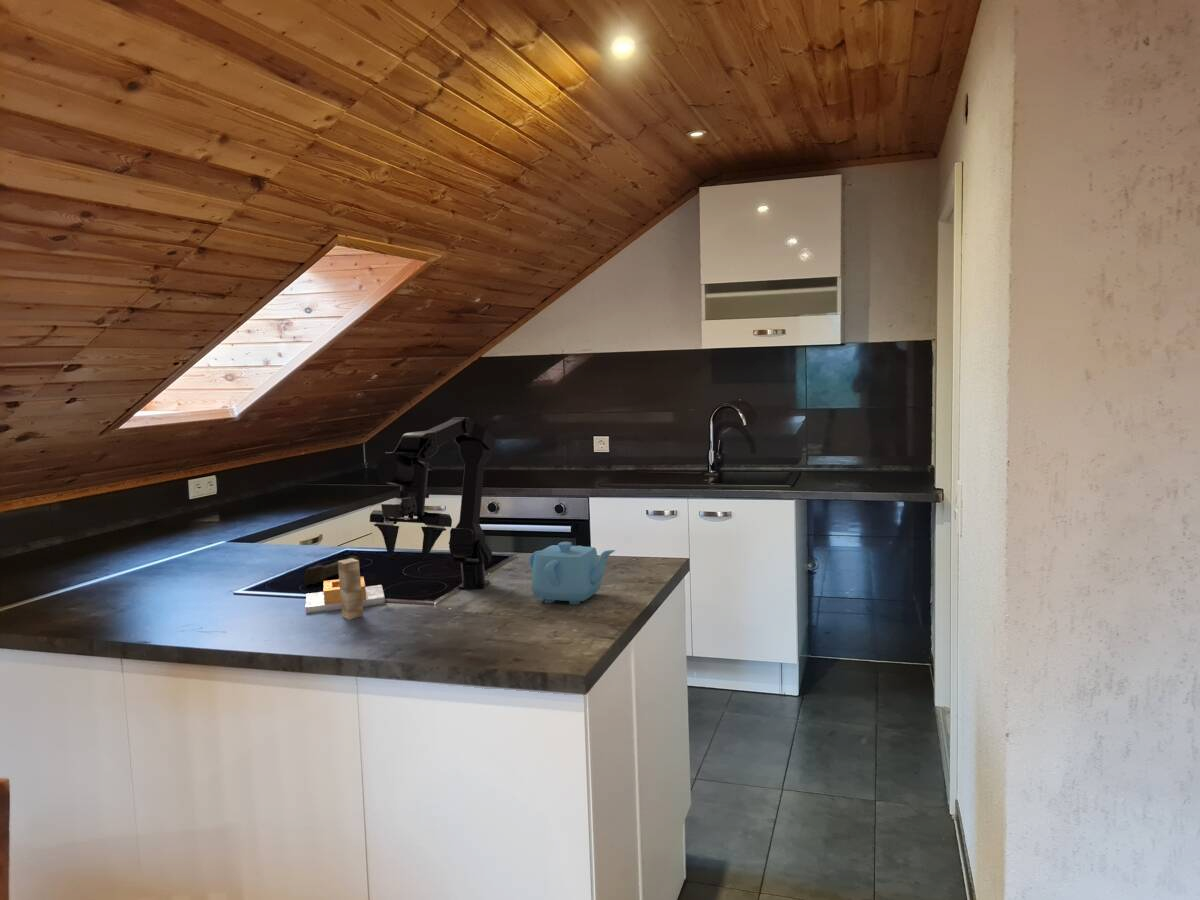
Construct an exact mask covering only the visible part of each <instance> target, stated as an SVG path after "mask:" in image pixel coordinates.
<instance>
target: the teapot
mask: <svg viewBox="0 0 1200 900" xmlns="http://www.w3.org/2000/svg"><path fill="white" fill-rule="evenodd" d="M572 544H573V543H572V542H571V541H562V542H559V543H557V544H556V545H555V544H554V545H549V546H548V547H547V546H546V547H545V548H544V549H542V550H537V551H536V550H535V551H534V552H533V553H532V554H530V556H529V560H528V561H529V566H530V568H531V569H532V570H531V571H532V572H531V590H532V594H533V596H534V598H536V599H543V600H544V602H543V603H545V604H552V603H555V602H556V601H563V602H565V601H567V602H568V604H569V605H572V606H576V605H580V604H581V602H584V601H586V600H587V599H589V598H591V597H592V596H593V595H595V594H596V593H597V592H598V591H599V590H600V588H601V586H602V585H601V584H602V583H601V582H602V579H603V577H604V576H605V572H606V568H607V560H608V557H609V556H611V554H612V553H615V552H616V549H610V550H604V551H602V552H601V554H600V556H599V557H598V552H597V549H596V547H595V546H593V547H592V546H583V545H572Z"/></svg>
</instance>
